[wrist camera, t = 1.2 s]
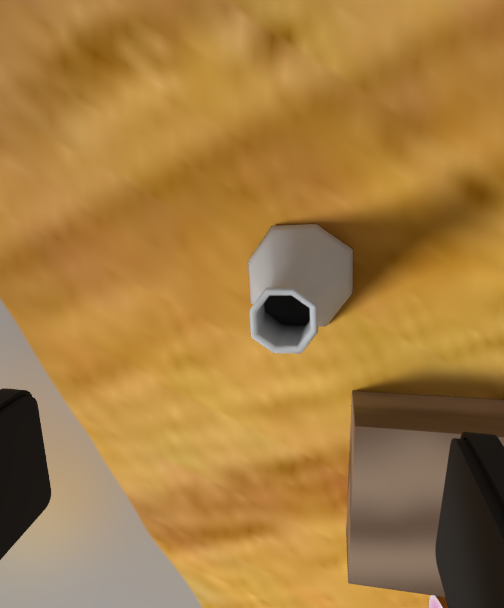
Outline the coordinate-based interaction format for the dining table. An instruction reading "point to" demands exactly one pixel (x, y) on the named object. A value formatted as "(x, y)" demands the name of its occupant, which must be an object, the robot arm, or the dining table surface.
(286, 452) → the dining table surface
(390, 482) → the walnut block
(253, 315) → the flask
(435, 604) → the lily
